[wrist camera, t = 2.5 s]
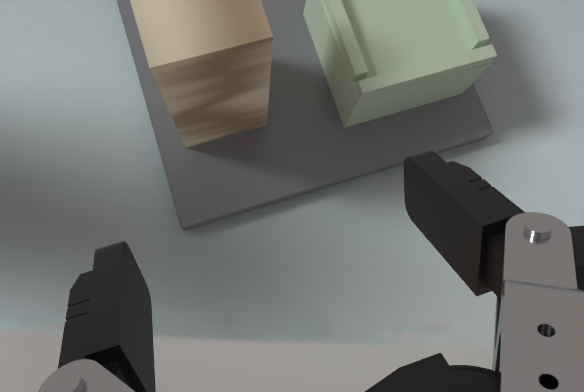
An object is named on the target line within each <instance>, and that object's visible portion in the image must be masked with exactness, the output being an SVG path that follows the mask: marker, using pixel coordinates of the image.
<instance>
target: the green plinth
mask: <svg viewBox="0 0 584 392" xmlns="http://www.w3.org/2000/svg"><path fill="white" fill-rule="evenodd" d="M303 15H304V18H305V21H306V24H307V26H308V29H309V32H310V35H311V37H312V40H313V43H314V46H315V48H316V51H317V54H318V57H319V60H320V62H321V65H322V68H323V71H324V73H325V76H326V79H327V82H328V84H329V87H330V90H331V93H332V95H333V98H334V101H335V104H336V107H337V109H338V112H339V115H340V118H341V120H342V123H343V126H344V128H345V127H349V126H352V125H356V124H359V123H363V122H366V121H370V120H373V119H377V118H380V117H384V116H387V115H391V114H394V113H397V112H401V111H404V110H408V109H411V108H415V107H418V106H422V105H425V104H429V103H432V102H436V101H439V100H443V99H446V98H450V97H453V96H457V95H460V94H462V93H463V92H464V91H465V90H466V89H467V88H468V87H469V86H470V85H471V84H472V83H473V82H474V81H475V80H476V79H477V78H478V77H479V76H481V75H482V74H483V73H484V72H485V71H486V70H487V69H488V68H489V67H490V66H491V65H492V62H491V61H492V60H493V59H494V58H495V57H496V56H497V54H496V51H495V49H494V47H493V45H492V44H491V45H487V46H484V44H485V43H486V42H487V41H488V40H489V39H490V38H489V35H488V33H487V31H486V28H485V26H484V24H483V22H482V19H481V17H480V15H479V12H478V10H477V8H476V6H475V3H474V1H473V0H306V2H305V7H304V13H303Z"/></svg>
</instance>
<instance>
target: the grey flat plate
mask: <svg viewBox="0 0 584 392" xmlns="http://www.w3.org/2000/svg"><path fill="white" fill-rule="evenodd" d="M261 2H262V5H263V8H264V11H265V14H266V17H267V20H268V23H269V26H270V28H271V31H272V34H273V48H272V61H271V74H270V88H269V101H268V114H267V125H266V126H262V127H259V128H255V129H251V130H248V131H244V132H241V133H237V134H234V135H230V136H226V137H223V138H219V139H216V140H212V141H209V142H205V143H201V144H198V145H194V146H191V147H187V148H186V147H185V145H184V143H183V141H182V138H181V136H180V134H179V132H178V130H177V127H176V125H175V123H174V121H173V119H172V116H171V114H170V112H169V110H168V108H167V105H166V103H165V101H164V99H163V97H162V94H161V92H160V90H159V88H158V86H157V83H156V81H155V79H154V77H153V75H152V72H151V70H150V68H149V65H148V61H147V58H146V54H145V51H144V47H143V44H142V40H141V37H140V33H139V30H138V27H137V23H136V20H135V16H134V13H133V9H132V6H131V2H130V0H117V3H118V6H119V10H120V13H121V17H122V20H123V24H124V27H125V31H126V34H127V38H128V41H129V45H130V48H131V52H132V55H133V59H134V62H135V66H136V69H137V73H138V76H139V80H140V83H141V87H142V91H143V94H144V98H145V101H146V105H147V108H148V112H149V115H150V119H151V122H152V126H153V129H154V133H155V136H156V140H157V143H158V147H159V150H160V154H161V157H162V161H163V164H164V168H165V172H166V175H167V179H168V182H169V186H170V189H171V193H172V196H173V200H174V203H175V207H176V210H177V214H178V217H179V221H180V224H181V228H182V229H183V230H186V229H189V228H192V227H195V226H199V225H202V224H205V223H209V222H212V221H215V220H218V219H222V218H225V217H228V216H232V215H235V214H238V213H241V212H245V211H248V210H251V209H255V208H258V207H261V206H264V205H268V204H271V203H274V202H278V201H281V200H284V199H287V198H291V197H294V196H297V195H301V194H304V193H307V192H310V191H314V190H317V189H320V188H324V187H327V186H330V185H333V184H337V183H340V182H343V181H347V180H350V179H353V178H356V177H360V176H363V175H366V174H370V173H373V172H376V171H379V170H383V169H386V168H389V167H393V166H396V165H399V164H402V163H404V160H405V158H406V157H409V156H413V155H416V154H419V153H423V152H426V151H429V150H432V151H434V152H435V153H439V152H442V151H445V150H448V149H452V148H455V147H458V146H462V145H465V144H468V143H471V142H475V141H478V140H481V139H485V138H487V137H488V136H490V135H491V134H493V130H492V128H491V125H490V123H489V121H488V118H487V116H486V114H485V111H484V109H483V106H482V104H481V102H480V99H479V97H478V95H477V92H476V90H475V87H474V85H473V83H472V84H471V85H470V86H469V87H468V88H467V89H466V90H465V91H464V92H463V93H462V94H460V95H457V96H453V97H450V98H446V99H443V100H439V101H436V102H432V103H429V104H425V105H422V106H418V107H415V108H411V109H408V110H404V111H401V112H397V113H394V114H391V115H387V116H384V117H380V118H377V119H373V120H370V121H366V122H363V123H359V124H356V125H352V126H349V127H345V128H344V126H343V123H342V120H341V118H340V115H339V112H338V109H337V107H336V104H335V101H334V98H333V95H332V93H331V90H330V87H329V84H328V82H327V79H326V76H325V73H324V71H323V68H322V65H321V62H320V60H319V57H318V54H317V51H316V48H315V46H314V43H313V40H312V37H311V35H310V32H309V29H308V26H307V24H306V21H305V18H304V15H303V13H304V7H305V2H306V0H261Z"/></svg>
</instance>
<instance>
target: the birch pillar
mask: <svg viewBox="0 0 584 392" xmlns="http://www.w3.org/2000/svg"><path fill="white" fill-rule="evenodd" d="M130 2H131V6H132V9H133V13H134V16H135V20H136V23H137V27H138V30H139V33H140V37H141V40H142V44H143V47H144V51H145V54H146V58H147V61H148V65H149V68H150V70H151V72H152V75H153V77H154V79H155V81H156V83H157V86H158V88H159V90H160V92H161V94H162V97H163V99H164V101H165V103H166V105H167V108H168V110H169V112H170V114H171V116H172V119H173V121H174V123H175V125H176V127H177V130H178V132H179V134H180V136H181V138H182V141H183V143H184V145H185V147H186V148H187V147H191V146H194V145H198V144H201V143H205V142H209V141H212V140H216V139H219V138H223V137H226V136H230V135H234V134H237V133H241V132H244V131H248V130H251V129H255V128H259V127H262V126H266V125H267V114H268V101H269V88H270V74H271V61H272V48H273V34H272V31H271V28H270V26H269V23H268V20H267V17H266V14H265V11H264V8H263V5H262V2H261V0H130Z"/></svg>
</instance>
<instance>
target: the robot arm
mask: <svg viewBox="0 0 584 392" xmlns="http://www.w3.org/2000/svg"><path fill="white" fill-rule="evenodd" d="M404 192H405V206H406V209H407V212H408V215H409V217H410V219H411V220H412V221H413V223H414V224H415V225H416V226H417V227H418V229H419V230H420V231H421V232H422V233H423V234H424V236H425V237H426V238H427V239H428V240H429V241H430V243H431V244H432V245H433V246H434V247H435V248H436V249H437V251H438V252H439V253H440V254H441V255H442V256H443V258H444V259H445V260H446V261H447V262H448V263H449V265H450V266H451V267H452V268H453V269H454V270H455V272H456V273H457V274H458V275H459V276H460V277H461V279H462V280H463V281H464V282H465V283H466V284H467V286H468V287H469V288H470V289H471V290H472V291H473V293H474V294H475V295H476V296H479V295H482V294H485V293H487V292H490V291H493V292H494V293H495V294H496V296H497V302H496V316H495V334H494V352H493V354H494V355H493V367H492V370H490V369H486V368H481V367H476V366H468V365H451V366H449V365H448V363H447V361H446V360H445V359H444V357H443V355H442V354H441V353H438V354H436V355H433V356H430V357H428V358H425V359H422V360H419V361H416V362H414V363H411V364H409V365H406V366H403V367H400V368H398V369H397V370H395V371H394V372H392V373H391V374H390V375H388V376H387V377H385V378H384V379H383V380H381V381H380V382H378V383H377V384H375V385H374V386H372V387H371V388H370V389H368V390H367V391H365V392H584V226H575V227H568V226H567V225H566V224H565V223H564V222H563V221H561V220H559V219H558V218H556V217H553V216H551V215H548V214H543V213H535V212H529V213H525V212H524V211H523V210H521V209H520V208H519V207H518V206H516V205H515V204H514V203H513V202H511V201H510V200H509V199H508V198H506V197H505V196H504V195H503V194H502V193H500V192H499V191H498V190H497V189H495V188H494V187H491V185H490V184H489V183H488V182H487V181H485V180H484V179H482V178H481V177H480V176H479V175H478V174H477V173H475V172H474V171H473V170H472V169H471V168H469V167H466V166H464V165H461V164H458V163H456V162H453V161H452V162H449V163H447V162H445V161H444V160H443V159H442V158H441V157H440V156H438V155H437V154H436V153H435V152H434V151H432V150H429V151H426V152H423V153H419V154H416V155H413V156H409V157H406V158H405V160H404ZM68 308H69V309H67V314H66V321H67V322H65V327H64V333H63V340H62V346H61V353H60V359H59V365H58V369H57V370H56V371H55V372H53V373H52V374H51V375H50V376H49V377H48V378H47V379H46V381H45V382H44V383H43V384H42V386H41V387H40V389H39V391H38V392H155V371H154V350H153V328H152V307H151V298H150V294H149V290H148V287H147V284H146V282H145V280H144V278H143V275H142V273H141V271H140V269H139V267H138V265H137V263H136V261H135V259H134V257H133V254H132V252H131V250H130V248H129V246H128V245H127V243H126V242H125V241H123V242H120V243H117V244H113V245H110V246H107V247H103V248H100V249H97V250H96V251H95V256H94V265H93V271H89V272H86V273H83V274H80V276H79V277H78V279H77V281H76V282H75V284H74V285H73V287H72V288H71V290H70V295H69V302H68Z"/></svg>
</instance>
